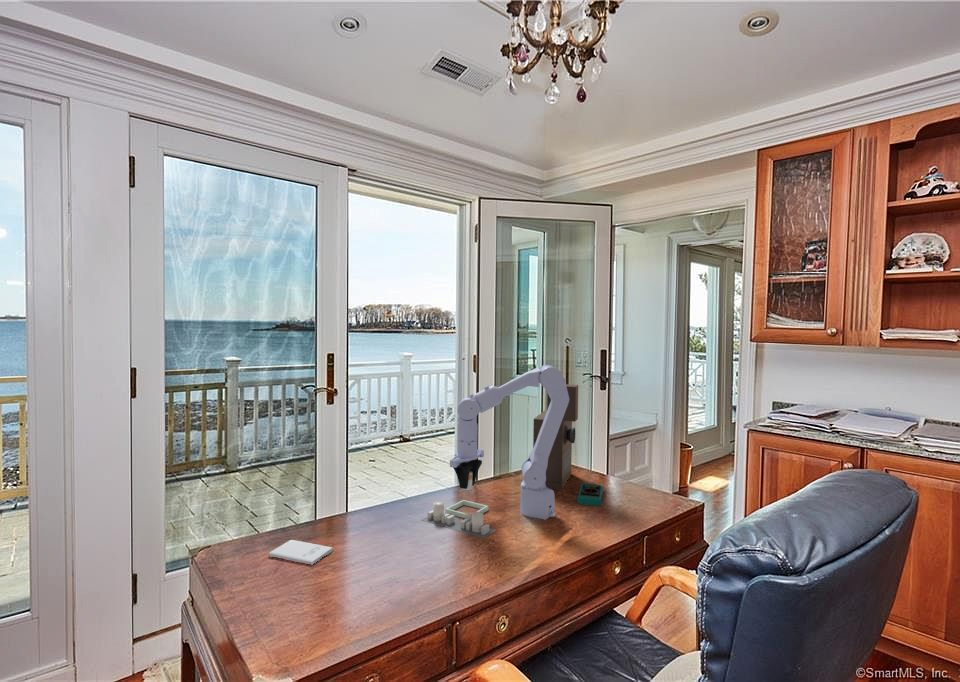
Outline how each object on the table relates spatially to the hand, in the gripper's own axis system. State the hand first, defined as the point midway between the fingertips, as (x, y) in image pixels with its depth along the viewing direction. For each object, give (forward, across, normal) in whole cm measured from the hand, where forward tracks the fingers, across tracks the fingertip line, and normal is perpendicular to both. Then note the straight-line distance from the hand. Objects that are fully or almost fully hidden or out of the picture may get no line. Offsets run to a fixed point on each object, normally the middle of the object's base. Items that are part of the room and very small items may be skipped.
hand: (467, 486), depth 148 cm
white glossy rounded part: (+7, +10, -3) cm, 12 cm away
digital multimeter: (+9, -35, +24) cm, 44 cm away
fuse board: (+9, +10, +4) cm, 13 cm away
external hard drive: (+10, +42, -19) cm, 48 cm away
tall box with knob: (+9, -44, +7) cm, 46 cm away
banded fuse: (+1, 0, 0) cm, 1 cm away
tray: (+9, 0, 0) cm, 9 cm away
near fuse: (+7, +10, +10) cm, 16 cm away
